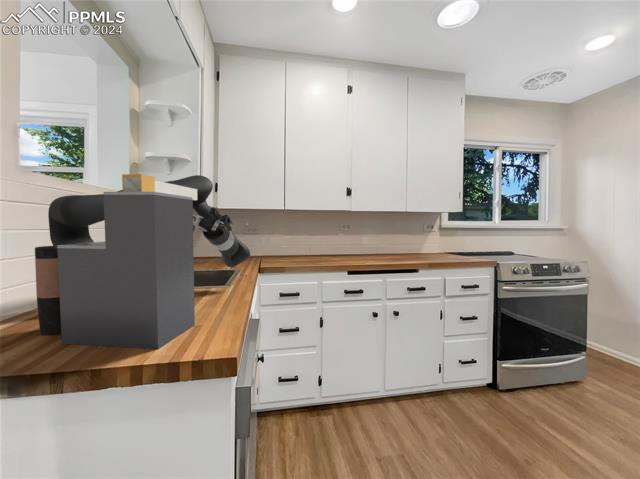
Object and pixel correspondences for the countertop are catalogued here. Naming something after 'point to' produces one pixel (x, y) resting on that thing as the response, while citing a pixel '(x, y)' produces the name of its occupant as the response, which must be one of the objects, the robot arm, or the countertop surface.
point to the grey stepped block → (131, 274)
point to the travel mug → (48, 290)
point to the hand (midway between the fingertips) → (197, 209)
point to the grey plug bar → (154, 186)
